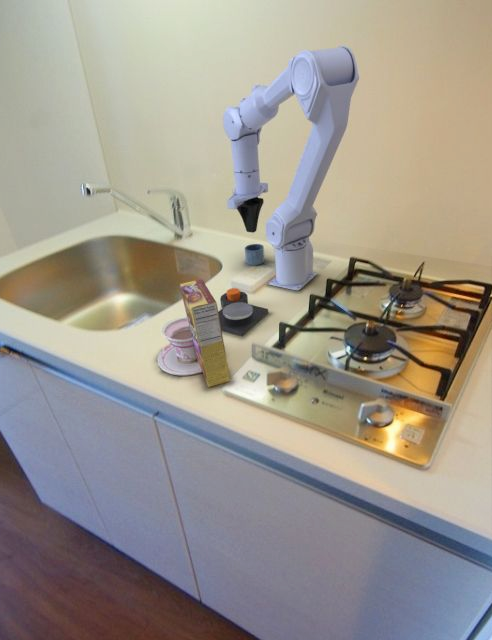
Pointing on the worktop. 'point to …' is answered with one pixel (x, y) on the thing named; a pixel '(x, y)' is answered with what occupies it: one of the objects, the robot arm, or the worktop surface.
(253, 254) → the blue cup
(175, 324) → the teacup
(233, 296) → the tare button
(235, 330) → the scale
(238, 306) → the grey round disc
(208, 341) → the candy box
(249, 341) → the worktop surface
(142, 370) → the worktop surface
